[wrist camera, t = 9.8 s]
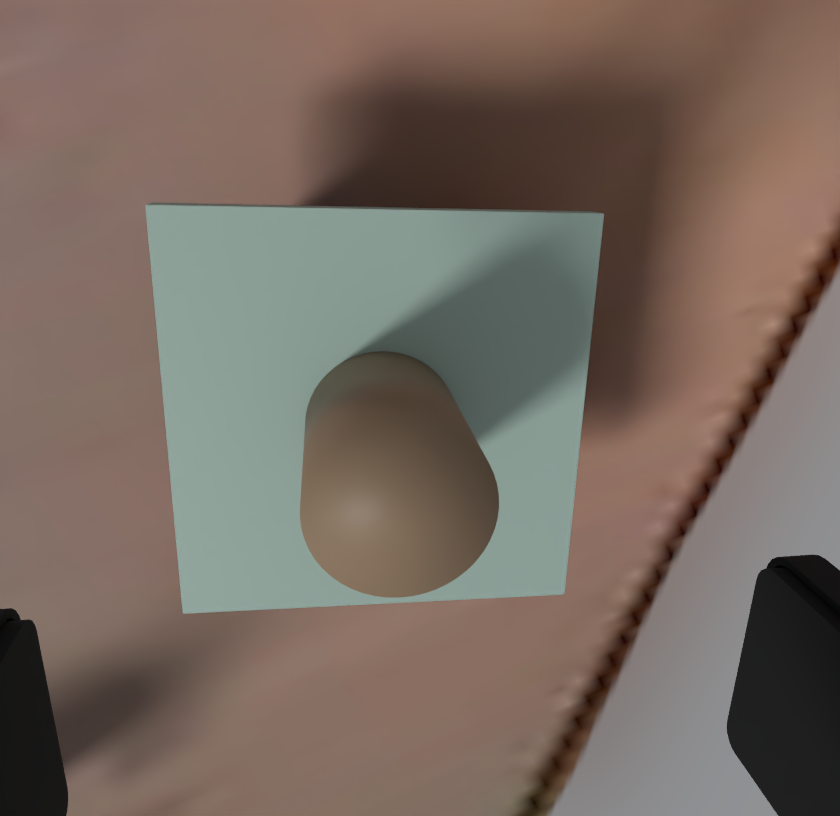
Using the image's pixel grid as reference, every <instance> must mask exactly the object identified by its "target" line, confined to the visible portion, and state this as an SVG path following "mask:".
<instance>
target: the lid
mask: <svg viewBox="0 0 840 816" xmlns="http://www.w3.org/2000/svg"><path fill="white" fill-rule="evenodd" d="M145 207H146V218H147V229H148V240H149V251H150V261H151V272H152V283H153V294H154V305H155V316H156V327H157V338H158V349H159V359H160V370H161V381H162V392H163V403H164V414H165V425H166V436H167V447H168V458H169V468H170V479H171V490H172V501H173V512H174V523H175V534H176V545H177V556H178V566H179V577H180V588H181V599H182V610H183V614H185V613H205V612H225V611H245V610H265V609H285V608H304V607H324V606H344V605H364V604H384V603H404V602H423V601H443V600H463V599H483V598H503V597H523V596H542V595H562V594H564V591H565V581H566V572H567V562H568V553H569V543H570V534H571V524H572V515H573V505H574V496H575V486H576V476H577V467H578V457H579V448H580V438H581V429H582V419H583V410H584V400H585V391H586V381H587V372H588V362H589V353H590V343H591V334H592V324H593V315H594V305H595V296H596V286H597V277H598V267H599V258H600V248H601V239H602V229H603V220H604V213H599V212H594V211H552V210H500V209H449V208H398V207H347V206H296V205H244V204H193V203H150V204H146V205H145Z"/></svg>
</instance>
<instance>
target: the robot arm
mask: <svg viewBox="0 0 840 816" xmlns="http://www.w3.org/2000/svg"><path fill="white" fill-rule="evenodd" d="M727 734H728V737H729V741H730V744H731V747H732V749H733V750H734V752H735V754H736V755H737V757H738V758H739V760H740V761H741V763H742V764H743V765H744V767H745V768H746V770H747V771H748V773H749V774H750V775H751V777H752V778H753V780H754V781H755V783H756V784H757V785H758V787H759V788H760V790H761V791H762V793H763V794H764V795H765V797H766V798H767V800H768V801H769V803H770V804H771V806H772V807H773V809H774V810H775V811H776V813H777V814H778V816H840V571H839V570H838V569H837V568H836V567H835V566H833V565H832V564H831V563H830V562H828V561H827V560H826V559H824V558H822V557H821V556H819V555H801V556H789V557H776V558H774V559H772V560H771V561H770V563H769V564H768V566H767V569H764V570H761V572H760V573H759V574H758V577H757V581H756V585H755V590H754V595H753V600H752V604H751V609H750V614H749V619H748V624H747V628H746V633H745V638H744V643H743V648H742V653H741V657H740V663H739V667H738V672H737V677H736V682H735V687H734V692H733V696H732V701H731V706H730V711H729V715H728V721H727ZM67 806H68V789H67V783H66V778H65V773H64V768H63V763H62V758H61V753H60V748H59V742H58V737H57V732H56V727H55V722H54V717H53V712H52V707H51V702H50V696H49V691H48V686H47V681H46V676H45V671H44V666H43V661H42V656H41V650H40V645H39V640H38V635H37V630H36V627H35V624H34V623H33V621H31V620H20V617H19V615H18V613H17V612H16V610H14V609H11V608H10V609H0V816H66V813H67Z"/></svg>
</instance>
